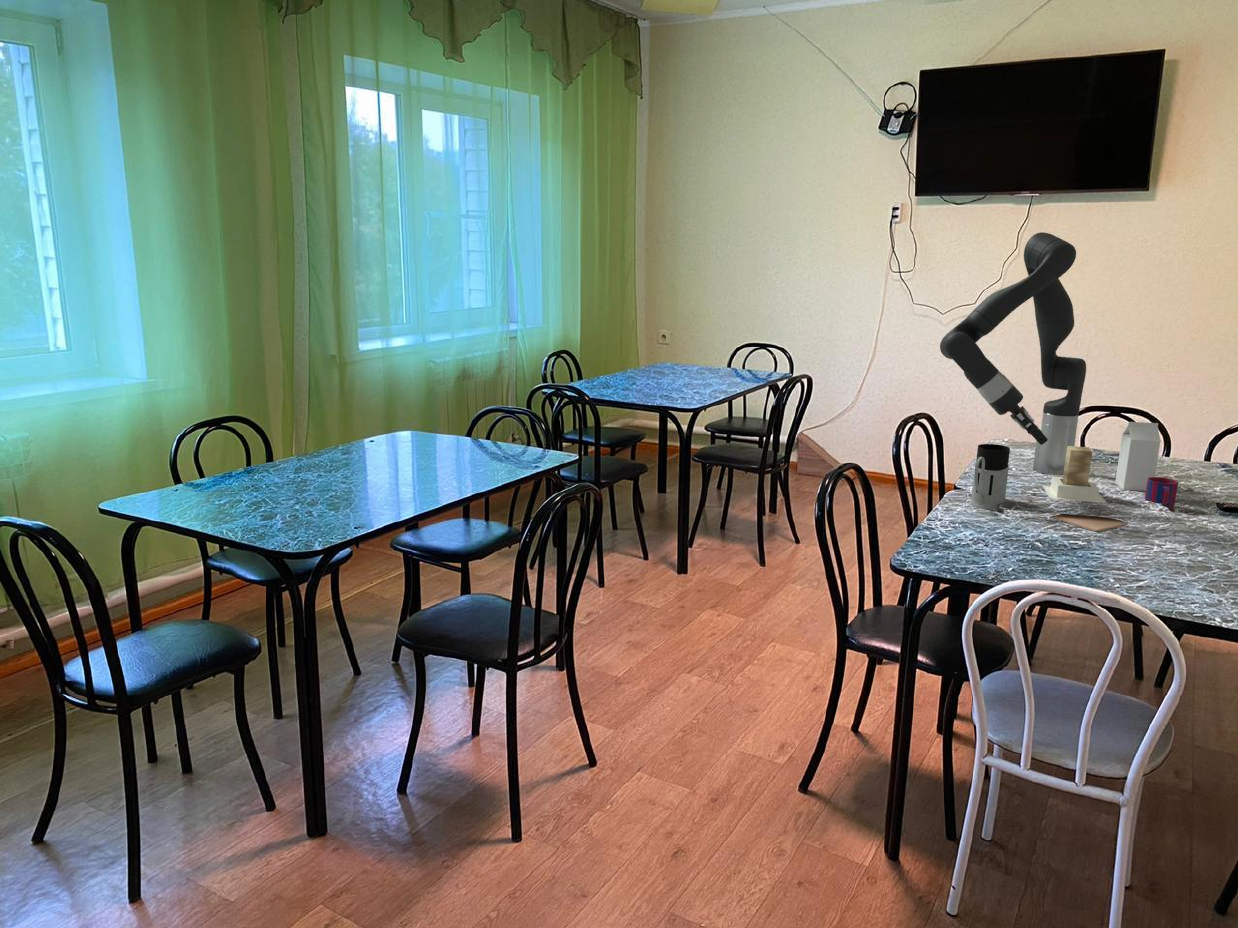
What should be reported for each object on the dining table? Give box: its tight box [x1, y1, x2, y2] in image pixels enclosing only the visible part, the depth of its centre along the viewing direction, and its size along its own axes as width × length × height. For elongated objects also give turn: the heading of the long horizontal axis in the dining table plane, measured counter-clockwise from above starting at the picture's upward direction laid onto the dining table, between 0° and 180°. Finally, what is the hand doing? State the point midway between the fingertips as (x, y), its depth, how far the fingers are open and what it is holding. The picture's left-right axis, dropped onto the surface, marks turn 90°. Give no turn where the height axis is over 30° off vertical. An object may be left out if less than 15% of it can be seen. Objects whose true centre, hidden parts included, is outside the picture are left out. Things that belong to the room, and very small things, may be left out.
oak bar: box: [1062, 446, 1093, 487], centre depth 238 cm, size 5×5×12 cm
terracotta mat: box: [1050, 513, 1129, 532], centre depth 221 cm, size 12×12×1 cm
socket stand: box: [1042, 476, 1107, 504], centre depth 239 cm, size 13×13×4 cm
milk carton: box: [1114, 421, 1161, 492], centre depth 245 cm, size 7×7×19 cm
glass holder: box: [968, 443, 1011, 511], centre depth 230 cm, size 9×14×15 cm, turn 137°
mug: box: [1144, 476, 1179, 510], centre depth 233 cm, size 7×10×7 cm
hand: (1042, 439), depth 239 cm, fingers open, 8 cm apart
